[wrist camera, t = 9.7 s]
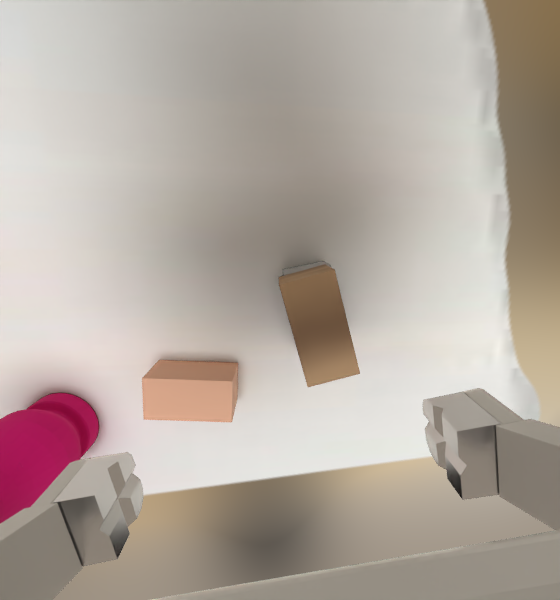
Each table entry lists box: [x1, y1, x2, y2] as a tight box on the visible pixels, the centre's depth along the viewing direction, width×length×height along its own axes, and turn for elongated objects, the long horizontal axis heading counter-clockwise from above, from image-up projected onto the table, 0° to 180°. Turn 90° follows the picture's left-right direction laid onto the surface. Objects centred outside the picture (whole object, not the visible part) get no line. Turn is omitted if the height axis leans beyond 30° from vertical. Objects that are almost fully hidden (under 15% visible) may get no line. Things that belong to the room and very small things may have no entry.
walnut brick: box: [279, 264, 360, 387], centre depth 23 cm, size 7×4×4 cm, turn 15°
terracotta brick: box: [142, 360, 238, 422], centre depth 28 cm, size 7×4×4 cm, turn 88°
